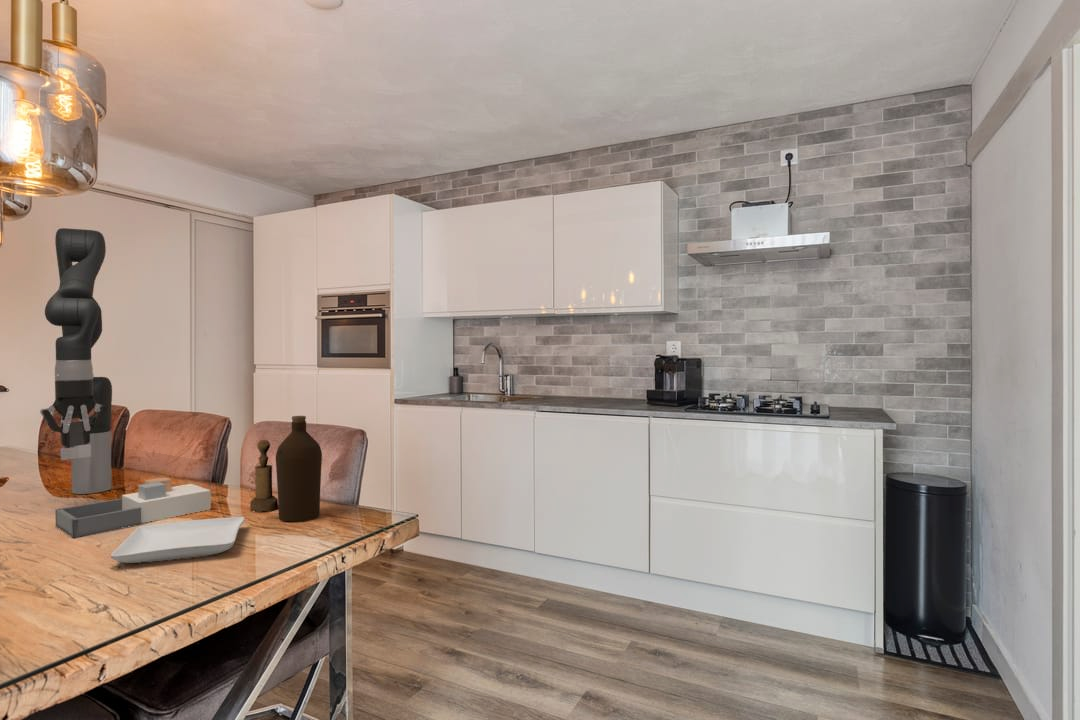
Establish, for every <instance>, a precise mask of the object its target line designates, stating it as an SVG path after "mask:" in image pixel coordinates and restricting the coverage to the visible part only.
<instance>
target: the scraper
mask: <svg viewBox="0 0 1080 720" xmlns="http://www.w3.org/2000/svg"><path fill="white" fill-rule="evenodd" d="M83 432H84V428H83V423H82V422H77V421H71V423H70V426H69V431H68V433H70V441H69V442H70V448H65V447H61V448H60V461H64V460H65V461H66V460H72V459H75V458H83V457H90V456H91V444H87V445H85V443H84V435H83Z"/></svg>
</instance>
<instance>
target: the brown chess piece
mask: <svg viewBox="0 0 1080 720" xmlns="http://www.w3.org/2000/svg"><path fill="white" fill-rule="evenodd" d="M256 444H257V445H256V447H257V449H258V451H259V452H260V456H258V462H259V465H257V466H255V468H254V470H255V471H254V473H255V477H254V479H255V480H254V481H255V497H253V499H251V500H250V502H249V504H250V505H249V508H250V512H252V511H255V512H254V513H263V512H262V511H268V512H270V511H269V510H272V511H274V510H273V509H275V508H277V507H278V497H276V496H274V495H273V465H271V464H268V462H269V456H268V455H267V453H268V451H269V449H270V447H271V443H270V441H269V440H268V439H260V440H259V441H257V443H256ZM277 509H278V508H277ZM275 510H276V509H275Z"/></svg>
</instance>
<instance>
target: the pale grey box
mask: <svg viewBox="0 0 1080 720" xmlns="http://www.w3.org/2000/svg"><path fill="white" fill-rule="evenodd" d="M137 488H138V491H137V493H138V497H139V498H141V499H143V500H150V499H155V498H161V497H166V485H165V484H163V483H160V482H156V483H149V484H145V483H144V484H138V486H137Z"/></svg>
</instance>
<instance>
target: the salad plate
mask: <svg viewBox="0 0 1080 720" xmlns="http://www.w3.org/2000/svg"><path fill="white" fill-rule="evenodd" d="M245 519H246V517H245V516H235V517H234V516H233V517H230V516H229V517H217V518H215V517H214V518H207V519H206V518H205V519H204V518H203V519H193V520H191V519H190V520H184V521H183V520H182V521H175V522H166V523H156V524H145V525H139V526H138V527H137V528H136V529H135V530H133V532H132V533H131V534H129V536H128V537H127V538H125V540H124V541H123V542H122V543H121V544H120V545H119V546H118V547H116V549H114V551H113V552H111V554H110V557H111V559H112V560H113V561H116V562H119V563H124V564H129V563H130V564H142V563H141V562H149V563H153V562H152V561H159V562H163V561H162V560H168V561H173V560H172V559H177V560H180V559H179V558H186V559H190V558H189V557H195V558H199V557H198V556H203V557H208V556H207V555H210V556H215V555H217V554H220V553H224V552H226V551H228V550H229V549H231V548H232V547H233V546H234V544H235V542H236V539H237V537H238V536H237V535H238V532H239V530H240V529H241V526H242V525H243V524H244V521H245ZM214 554H215V555H214Z"/></svg>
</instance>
